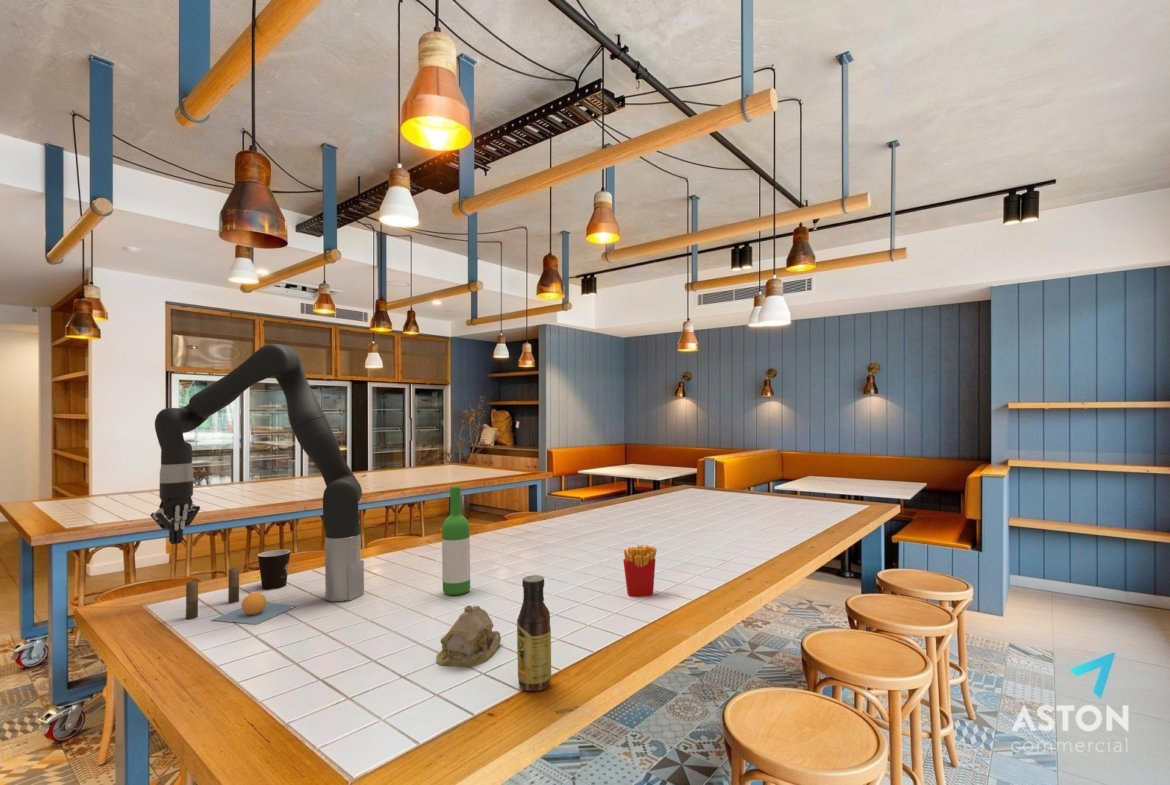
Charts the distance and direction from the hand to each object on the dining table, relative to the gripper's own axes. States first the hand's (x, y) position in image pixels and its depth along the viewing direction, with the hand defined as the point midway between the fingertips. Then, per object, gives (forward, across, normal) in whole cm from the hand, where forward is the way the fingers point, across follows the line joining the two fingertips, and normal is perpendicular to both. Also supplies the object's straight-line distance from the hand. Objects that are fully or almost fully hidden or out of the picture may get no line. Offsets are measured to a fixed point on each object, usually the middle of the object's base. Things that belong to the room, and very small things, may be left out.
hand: (176, 543), depth 154 cm
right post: (+17, +6, -13) cm, 22 cm away
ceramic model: (+17, -11, -94) cm, 96 cm away
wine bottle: (+17, +26, -71) cm, 78 cm away
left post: (+17, -6, -13) cm, 22 cm away
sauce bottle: (+17, -22, -112) cm, 115 cm away
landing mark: (+17, 0, -27) cm, 32 cm away
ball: (+14, -1, -27) cm, 31 cm away
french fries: (+17, +34, -123) cm, 129 cm away
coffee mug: (+17, +22, -13) cm, 31 cm away
